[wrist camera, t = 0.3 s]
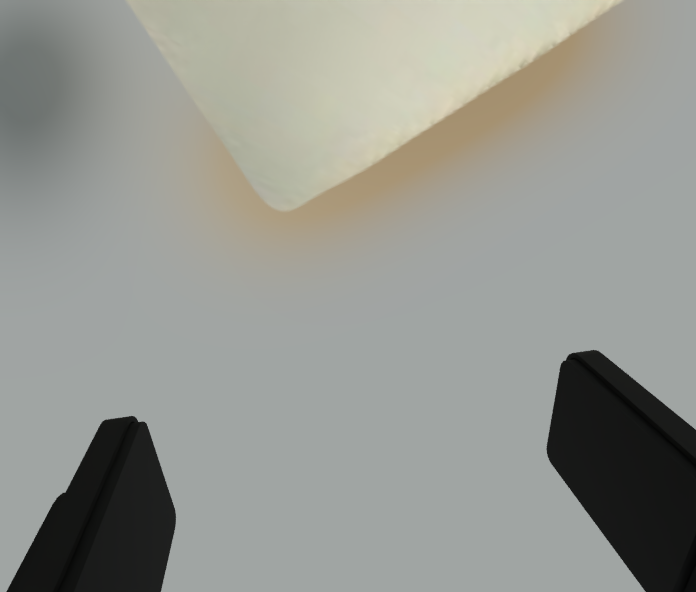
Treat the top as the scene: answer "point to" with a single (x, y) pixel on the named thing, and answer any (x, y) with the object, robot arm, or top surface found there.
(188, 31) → the top surface
